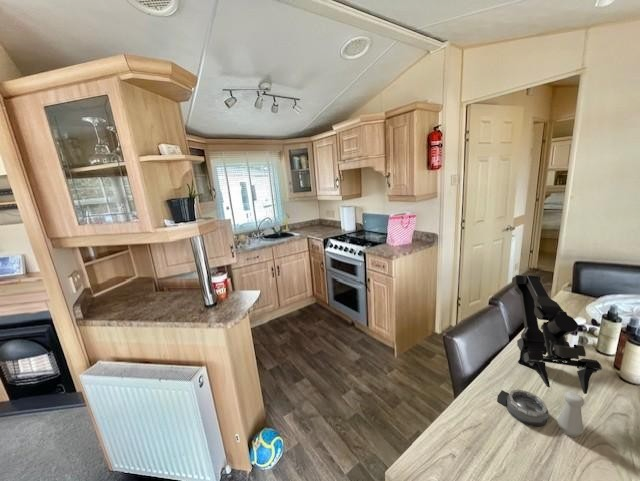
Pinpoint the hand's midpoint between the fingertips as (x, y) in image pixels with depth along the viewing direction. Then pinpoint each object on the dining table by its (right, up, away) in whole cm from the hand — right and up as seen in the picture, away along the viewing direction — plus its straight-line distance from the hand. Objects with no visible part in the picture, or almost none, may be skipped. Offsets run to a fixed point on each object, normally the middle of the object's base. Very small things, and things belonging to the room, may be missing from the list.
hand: (566, 390), depth 84 cm
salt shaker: (-1, -12, -2) cm, 12 cm away
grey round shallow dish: (-9, -10, +7) cm, 15 cm away
